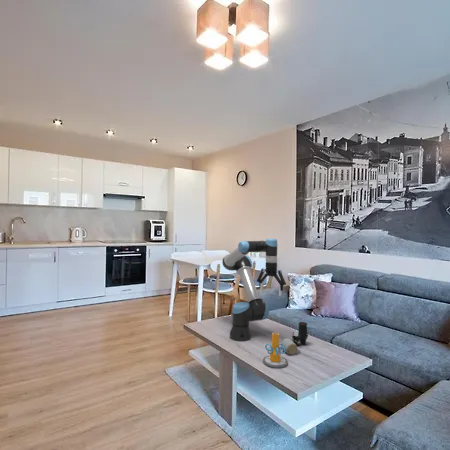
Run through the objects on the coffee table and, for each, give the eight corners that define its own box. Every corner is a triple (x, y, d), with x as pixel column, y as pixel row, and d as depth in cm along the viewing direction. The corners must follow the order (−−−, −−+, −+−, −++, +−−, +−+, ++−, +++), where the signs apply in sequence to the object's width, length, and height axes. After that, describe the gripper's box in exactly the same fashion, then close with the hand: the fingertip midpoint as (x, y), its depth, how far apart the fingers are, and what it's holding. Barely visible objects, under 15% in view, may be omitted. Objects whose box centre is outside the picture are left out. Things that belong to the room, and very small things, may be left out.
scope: (291, 322, 202) (303, 320, 207) (291, 343, 202) (303, 341, 207) (299, 326, 195) (311, 324, 199) (299, 347, 195) (311, 345, 199)
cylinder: (263, 355, 179) (264, 330, 179) (281, 355, 180) (281, 330, 180) (268, 365, 167) (268, 337, 167) (287, 364, 168) (287, 337, 168)
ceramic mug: (287, 356, 182) (287, 343, 182) (280, 350, 190) (281, 338, 190) (302, 354, 186) (303, 341, 186) (295, 349, 193) (296, 337, 193)
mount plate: (258, 363, 172) (258, 361, 172) (269, 355, 183) (269, 353, 183) (281, 370, 164) (281, 368, 164) (291, 361, 175) (291, 359, 175)
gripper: (252, 261, 206) (251, 292, 206) (286, 264, 191) (286, 298, 191) (257, 260, 212) (257, 290, 212) (291, 263, 197) (290, 295, 197)
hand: (270, 294), depth 202 cm, fingers open, 13 cm apart
